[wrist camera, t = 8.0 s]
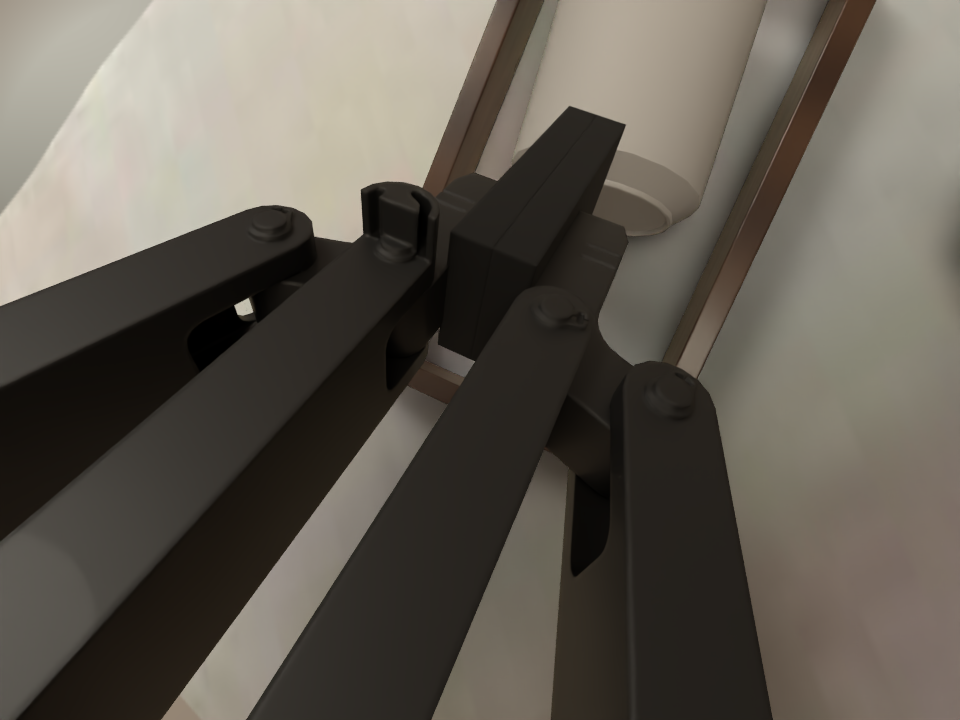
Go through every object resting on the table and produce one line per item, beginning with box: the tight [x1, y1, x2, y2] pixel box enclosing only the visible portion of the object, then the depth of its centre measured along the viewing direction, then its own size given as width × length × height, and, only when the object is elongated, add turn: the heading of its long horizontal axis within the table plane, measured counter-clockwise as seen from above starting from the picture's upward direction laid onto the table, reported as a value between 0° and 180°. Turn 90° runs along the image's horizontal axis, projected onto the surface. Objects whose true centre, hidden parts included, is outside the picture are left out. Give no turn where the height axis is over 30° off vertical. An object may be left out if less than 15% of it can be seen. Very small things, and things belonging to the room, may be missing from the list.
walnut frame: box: [407, 0, 876, 453], centre depth 20 cm, size 24×14×3 cm, turn 157°
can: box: [511, 0, 767, 236], centre depth 18 cm, size 8×8×12 cm
